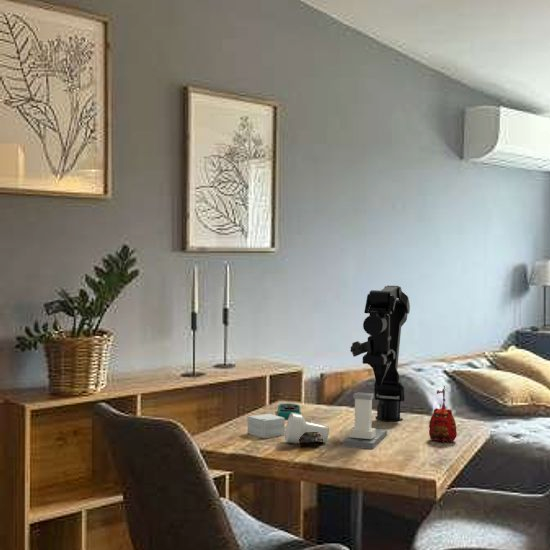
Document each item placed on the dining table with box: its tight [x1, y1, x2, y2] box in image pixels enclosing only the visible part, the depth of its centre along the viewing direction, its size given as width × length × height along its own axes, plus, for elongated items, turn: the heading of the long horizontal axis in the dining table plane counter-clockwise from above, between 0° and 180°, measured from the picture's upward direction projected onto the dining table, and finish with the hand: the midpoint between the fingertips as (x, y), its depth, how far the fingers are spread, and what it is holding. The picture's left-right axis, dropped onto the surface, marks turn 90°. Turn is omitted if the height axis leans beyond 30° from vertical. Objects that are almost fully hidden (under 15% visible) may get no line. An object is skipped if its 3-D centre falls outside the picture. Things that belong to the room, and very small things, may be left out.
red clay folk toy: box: [428, 385, 458, 443], centre depth 222 cm, size 8×7×15 cm
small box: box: [246, 413, 286, 439], centre depth 226 cm, size 8×8×5 cm
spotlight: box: [284, 413, 330, 445], centre depth 216 cm, size 8×11×8 cm
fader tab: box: [349, 391, 377, 439], centre depth 216 cm, size 5×6×12 cm
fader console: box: [343, 428, 388, 450], centre depth 220 cm, size 18×8×2 cm, turn 161°
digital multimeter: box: [277, 403, 302, 420], centre depth 256 cm, size 7×15×3 cm, turn 179°
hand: (378, 385), depth 235 cm, fingers closed
